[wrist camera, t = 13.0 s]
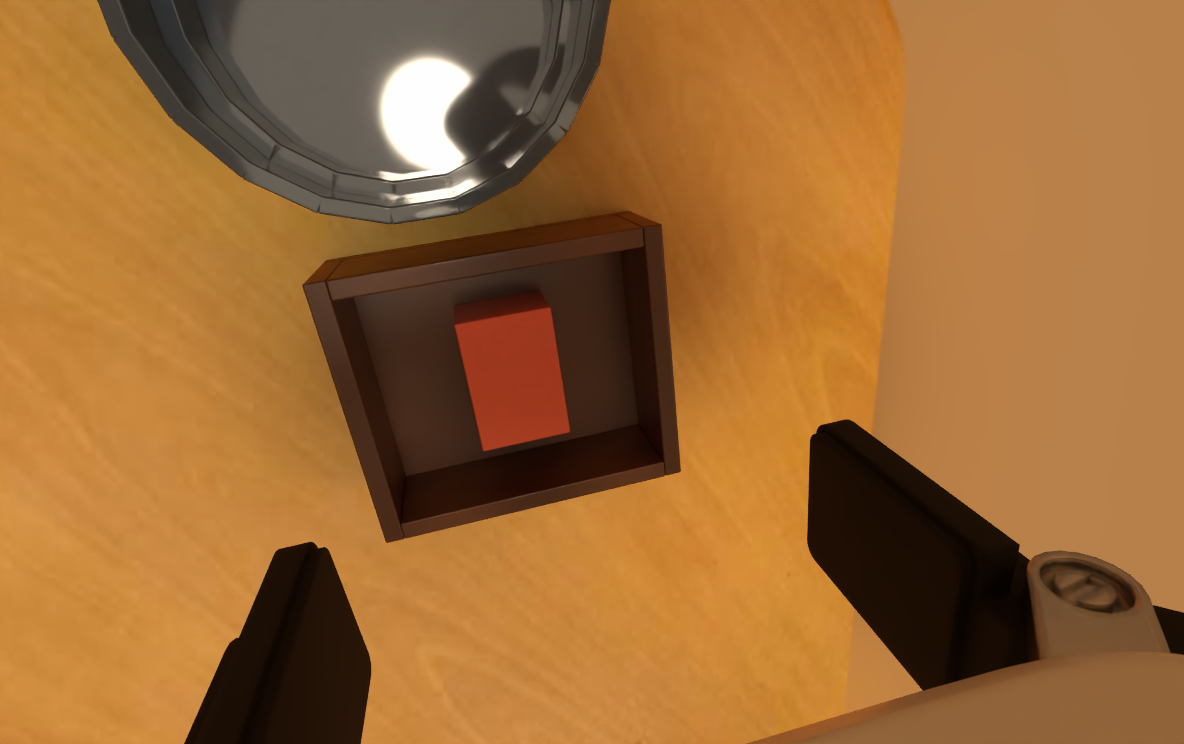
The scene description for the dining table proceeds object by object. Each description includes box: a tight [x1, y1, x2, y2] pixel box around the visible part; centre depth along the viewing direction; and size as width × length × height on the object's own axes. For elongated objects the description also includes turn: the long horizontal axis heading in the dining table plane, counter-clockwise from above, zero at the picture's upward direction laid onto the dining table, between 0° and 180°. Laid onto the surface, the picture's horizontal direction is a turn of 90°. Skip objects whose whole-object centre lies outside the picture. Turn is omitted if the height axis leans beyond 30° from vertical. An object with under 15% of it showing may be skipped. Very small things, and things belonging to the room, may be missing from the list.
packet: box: [453, 291, 570, 451], centre depth 27 cm, size 4×6×3 cm, turn 7°
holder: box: [303, 211, 681, 543], centre depth 27 cm, size 14×12×5 cm
